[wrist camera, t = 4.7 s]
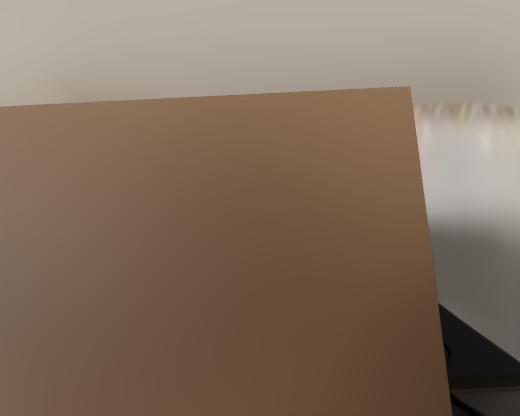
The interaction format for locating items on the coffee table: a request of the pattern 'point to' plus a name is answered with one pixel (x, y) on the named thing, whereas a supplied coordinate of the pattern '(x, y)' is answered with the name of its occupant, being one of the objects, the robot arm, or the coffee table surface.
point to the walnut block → (218, 258)
